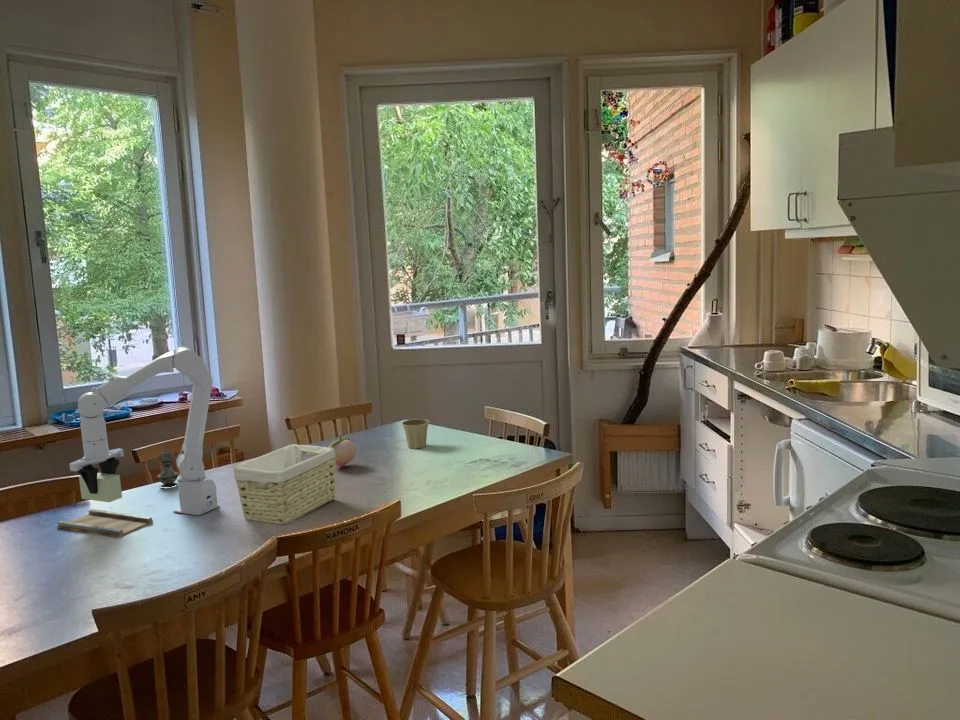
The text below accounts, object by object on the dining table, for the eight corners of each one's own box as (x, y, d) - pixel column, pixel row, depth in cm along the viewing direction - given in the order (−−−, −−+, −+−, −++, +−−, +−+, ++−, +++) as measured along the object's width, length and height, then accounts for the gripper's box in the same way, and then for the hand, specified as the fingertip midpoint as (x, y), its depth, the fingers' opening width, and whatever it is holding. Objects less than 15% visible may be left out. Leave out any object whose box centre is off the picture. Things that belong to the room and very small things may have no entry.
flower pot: (429, 449, 262) (428, 424, 260) (401, 450, 262) (400, 425, 261) (431, 442, 271) (430, 418, 270) (404, 443, 271) (403, 419, 270)
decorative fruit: (348, 471, 240) (345, 440, 239) (324, 470, 243) (322, 439, 241) (362, 463, 249) (359, 432, 247) (339, 462, 252) (336, 432, 250)
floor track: (153, 522, 203) (152, 517, 202) (118, 537, 193) (117, 531, 193) (94, 513, 212) (93, 508, 212) (57, 528, 202) (56, 522, 202)
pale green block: (122, 497, 201) (119, 475, 200) (109, 502, 197) (106, 479, 196) (95, 493, 205) (92, 471, 204) (81, 498, 201) (78, 476, 201)
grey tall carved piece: (172, 489, 231) (167, 450, 229) (154, 489, 232) (150, 450, 230) (183, 483, 236) (179, 444, 235) (166, 483, 238) (161, 444, 236)
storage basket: (283, 528, 194) (278, 471, 192) (234, 521, 201) (229, 465, 199) (342, 499, 215) (338, 447, 213) (296, 492, 222) (291, 442, 220)
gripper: (107, 431, 207) (113, 480, 209) (58, 445, 194) (65, 497, 196) (126, 433, 204) (132, 483, 206) (78, 447, 191) (85, 500, 193)
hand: (101, 490), depth 201 cm, fingers closed on pale green block, 4 cm apart
